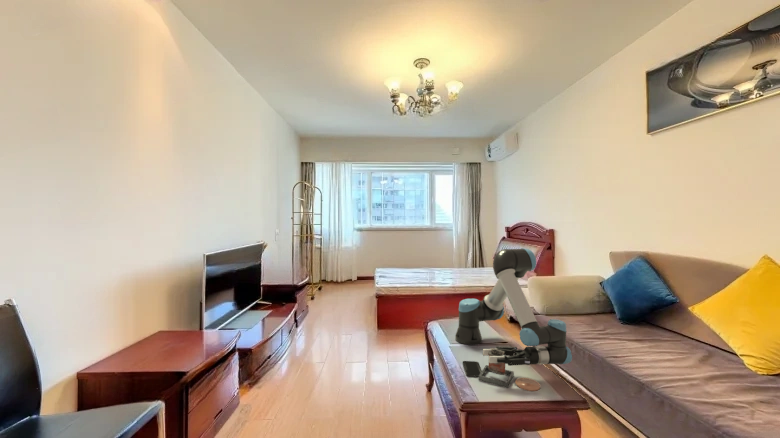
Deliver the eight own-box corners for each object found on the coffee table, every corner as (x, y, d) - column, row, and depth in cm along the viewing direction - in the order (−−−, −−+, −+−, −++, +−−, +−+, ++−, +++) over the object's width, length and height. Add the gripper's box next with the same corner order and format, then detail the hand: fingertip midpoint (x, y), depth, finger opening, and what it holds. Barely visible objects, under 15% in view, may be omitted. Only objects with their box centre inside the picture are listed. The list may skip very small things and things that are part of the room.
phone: (478, 361, 166) (484, 376, 151) (478, 363, 166) (483, 378, 151) (462, 360, 166) (466, 375, 151) (462, 363, 166) (466, 377, 151)
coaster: (517, 377, 152) (517, 375, 152) (541, 383, 146) (541, 381, 146) (513, 386, 143) (513, 385, 143) (538, 393, 138) (538, 391, 138)
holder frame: (486, 369, 159) (486, 364, 159) (513, 376, 153) (513, 371, 153) (478, 380, 148) (478, 375, 148) (508, 388, 142) (508, 383, 142)
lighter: (486, 369, 152) (487, 347, 152) (490, 367, 154) (490, 345, 154) (503, 375, 146) (503, 353, 146) (506, 373, 149) (507, 351, 148)
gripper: (547, 374, 142) (494, 375, 140) (525, 354, 161) (478, 354, 160) (547, 356, 142) (494, 357, 140) (525, 338, 161) (478, 339, 160)
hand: (486, 355), depth 150 cm, fingers closed on lighter, 7 cm apart
